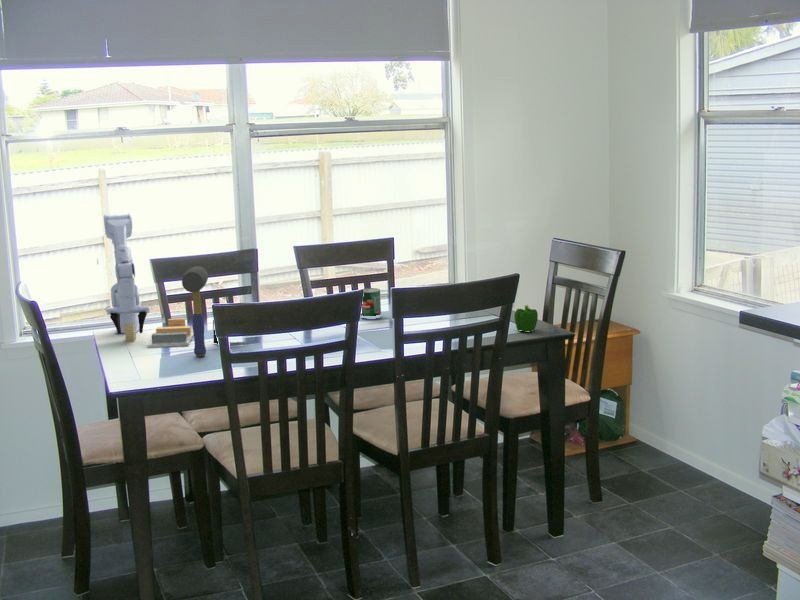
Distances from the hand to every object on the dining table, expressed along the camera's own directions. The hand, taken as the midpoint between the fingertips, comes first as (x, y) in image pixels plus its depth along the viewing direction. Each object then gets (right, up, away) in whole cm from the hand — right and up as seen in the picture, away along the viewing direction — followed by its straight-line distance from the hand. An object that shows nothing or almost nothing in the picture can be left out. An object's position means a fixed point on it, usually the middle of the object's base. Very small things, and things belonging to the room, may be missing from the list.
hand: (130, 333), depth 334 cm
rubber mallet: (+30, -7, -23) cm, 39 cm away
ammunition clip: (+37, -3, -6) cm, 37 cm away
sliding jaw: (+14, 0, +8) cm, 16 cm away
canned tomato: (+86, +5, +28) cm, 91 cm away
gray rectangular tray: (+15, -2, +2) cm, 15 cm away
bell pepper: (+142, 0, +1) cm, 143 cm away
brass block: (0, -3, +1) cm, 3 cm away
